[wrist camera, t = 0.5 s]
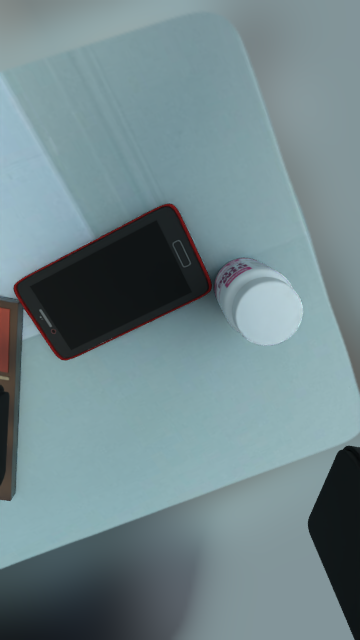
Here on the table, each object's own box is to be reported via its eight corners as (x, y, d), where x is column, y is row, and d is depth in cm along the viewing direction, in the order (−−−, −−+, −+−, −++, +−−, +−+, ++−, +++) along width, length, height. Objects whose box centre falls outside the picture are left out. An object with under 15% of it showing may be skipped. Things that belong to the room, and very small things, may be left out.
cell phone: (214, 288, 26) (216, 291, 25) (64, 360, 28) (60, 364, 27) (173, 199, 24) (173, 198, 23) (13, 283, 26) (7, 285, 25)
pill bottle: (227, 248, 25) (251, 260, 17) (279, 269, 26) (326, 291, 18) (204, 301, 27) (216, 336, 19) (254, 321, 27) (287, 362, 19)
